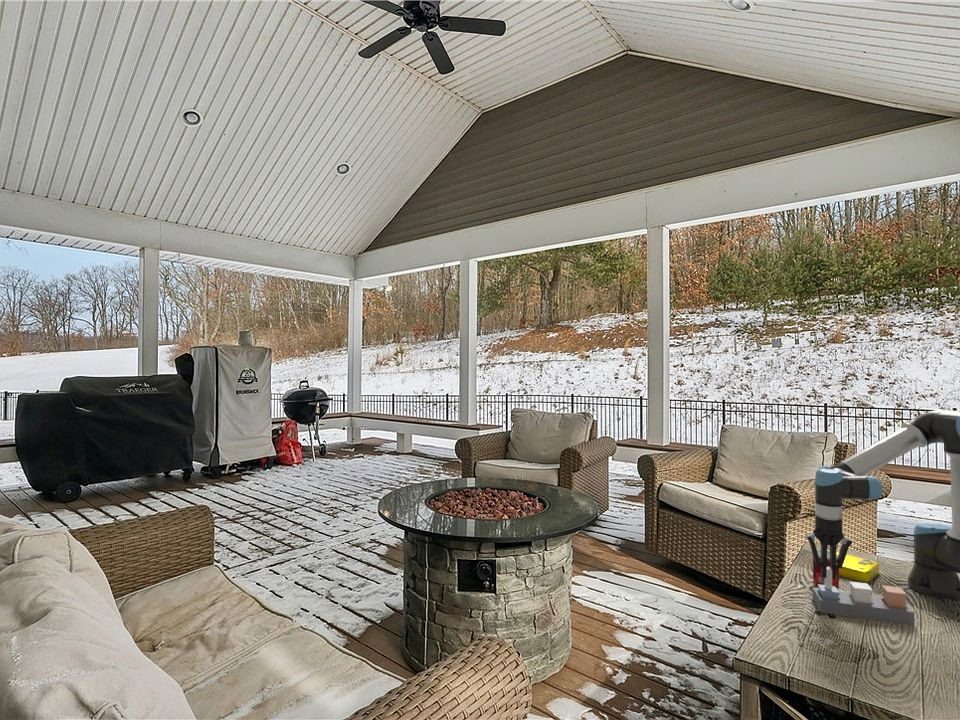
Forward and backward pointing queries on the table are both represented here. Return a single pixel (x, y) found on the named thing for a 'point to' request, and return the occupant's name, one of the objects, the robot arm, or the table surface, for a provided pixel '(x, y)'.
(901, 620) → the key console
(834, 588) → the slate blue key
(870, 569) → the element tile
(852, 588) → the white key
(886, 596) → the terracotta key
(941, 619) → the table surface
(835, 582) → the canned food
